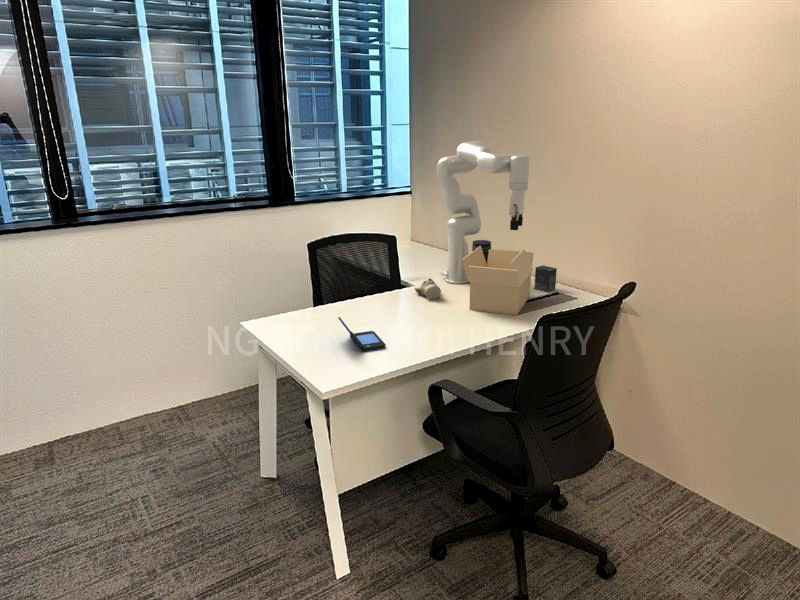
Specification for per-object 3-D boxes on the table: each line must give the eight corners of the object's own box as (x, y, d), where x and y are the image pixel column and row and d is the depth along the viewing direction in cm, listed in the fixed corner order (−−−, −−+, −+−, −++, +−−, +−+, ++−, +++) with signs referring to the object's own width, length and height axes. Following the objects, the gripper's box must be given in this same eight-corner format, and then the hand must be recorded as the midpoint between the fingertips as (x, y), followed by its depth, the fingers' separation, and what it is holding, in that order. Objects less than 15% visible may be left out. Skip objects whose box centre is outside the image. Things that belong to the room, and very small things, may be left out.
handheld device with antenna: (386, 349, 186) (386, 324, 183) (349, 355, 181) (348, 330, 178) (373, 333, 200) (372, 310, 197) (338, 338, 195) (337, 315, 192)
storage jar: (470, 271, 278) (470, 243, 274) (473, 266, 287) (473, 239, 283) (489, 272, 276) (490, 244, 271) (491, 267, 285) (492, 240, 280)
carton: (458, 310, 221) (459, 260, 214) (480, 289, 248) (481, 244, 242) (515, 317, 212) (518, 265, 205) (531, 294, 239) (533, 248, 232)
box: (555, 290, 245) (557, 268, 242) (548, 292, 242) (549, 270, 238) (541, 286, 251) (542, 264, 247) (533, 289, 247) (535, 267, 244)
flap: (510, 263, 209) (511, 262, 209) (523, 249, 231) (524, 248, 231) (519, 286, 210) (520, 285, 210) (531, 270, 232) (533, 269, 232)
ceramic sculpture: (423, 283, 230) (412, 276, 243) (424, 302, 232) (413, 294, 246) (446, 280, 232) (434, 274, 246) (446, 299, 235) (434, 292, 249)
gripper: (513, 183, 226) (511, 223, 231) (505, 188, 211) (503, 231, 216) (531, 184, 223) (528, 224, 228) (524, 189, 208) (521, 232, 213)
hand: (516, 227), depth 222 cm, fingers open, 9 cm apart
